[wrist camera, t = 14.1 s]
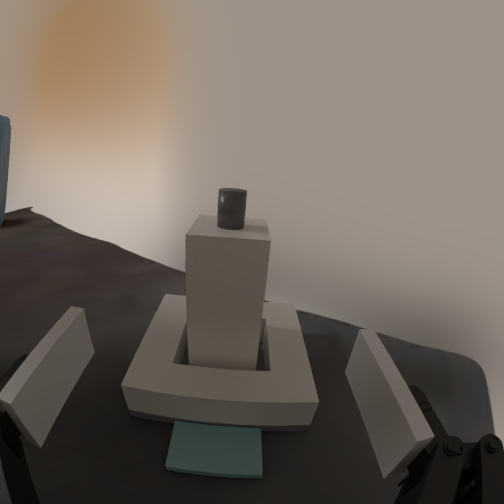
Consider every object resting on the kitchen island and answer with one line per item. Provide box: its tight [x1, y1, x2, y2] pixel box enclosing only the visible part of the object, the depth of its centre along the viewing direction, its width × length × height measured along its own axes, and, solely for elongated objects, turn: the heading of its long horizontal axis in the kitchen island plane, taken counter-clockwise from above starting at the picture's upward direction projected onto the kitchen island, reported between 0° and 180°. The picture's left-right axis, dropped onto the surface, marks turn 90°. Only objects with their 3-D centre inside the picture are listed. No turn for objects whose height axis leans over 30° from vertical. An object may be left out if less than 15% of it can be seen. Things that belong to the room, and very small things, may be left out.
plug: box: [186, 188, 271, 371], centre depth 21 cm, size 5×5×14 cm
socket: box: [121, 294, 319, 479], centre depth 21 cm, size 17×13×4 cm
